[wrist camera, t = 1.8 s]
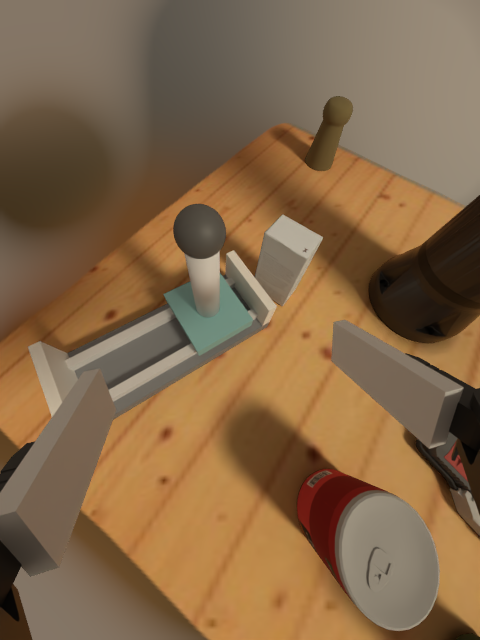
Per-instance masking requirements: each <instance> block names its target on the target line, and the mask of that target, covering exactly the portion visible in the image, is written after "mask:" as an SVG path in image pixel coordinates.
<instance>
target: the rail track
mask: <svg viewBox="0 0 480 640" xmlns="http://www.w3.org/2000/svg"><path fill="white" fill-rule="evenodd" d="M223 278H224V279H225V281H226V282H227V283H228V285H229V286H230V288H231V289H232V290H233V292H234V293H235V295H236V296H237V297H238V299H239V300H240V302H241V303H242V304H243V306H244V307H245V309H246V310H247V311H248V313H249V314H250V316H251V317H252V318H253V322H252V325H251V326H250V327H248V328H246V329H244V330H243V331H241V332H239V333H238V334H236V335H234V336H233V337H231V338H229V339H227V340H226V341H224V342H222V343H221V344H219V345H217V346H216V347H214V348H212V349H210V350H209V351H207V352H205V353H204V354H202V355H200V356H199V355H198V353H197V352H196V350H195V348H194V347H193V345H192V343H191V342H190V340H189V338H188V337H187V335H186V333H185V332H184V330H183V328H182V326H181V325H180V323H179V321H178V320H177V318H176V316H175V315H174V313H173V311H172V310H171V308H170V306H169V305H168V304H166V305H164V306H162V307H160V308H158V309H156V310H154V311H151V312H149V313H147V314H145V315H143V316H141V317H139V318H137V319H135V320H133V321H131V322H129V323H127V324H125V325H123V326H121V327H119V328H117V329H115V330H113V331H111V332H109V333H107V334H105V335H103V336H101V337H99V338H97V339H95V340H93V341H91V342H89V343H87V344H85V345H83V346H81V347H79V348H77V349H75V350H73V351H71V352H69V353H66V352H63V351H61V350H59V349H57V348H54V347H52V346H50V345H48V344H45V343H43V342H41V341H39V342H37V343H35V344H33V345H31V346H28V349H29V351H30V354H31V357H32V360H33V363H34V366H35V369H36V372H37V375H38V377H39V380H40V383H41V386H42V389H43V392H44V395H45V398H46V401H47V404H48V406H49V409H50V412H51V415H52V417H53V415H54V414H55V412H56V411H57V409H58V408H59V406H60V405H61V404H62V402H63V401H64V399H65V398H66V396H67V395H68V393H69V392H70V390H71V389H72V388H73V386H74V385H75V383H76V382H77V380H78V379H79V377H80V376H81V375H82V373H83V372H84V371H89V370H94V369H99V368H100V370H101V372H102V375H103V378H104V380H105V383H106V385H107V388H108V390H109V393H110V395H111V398H112V400H113V403H114V405H115V408H116V413H115V415H114V418H113V419H115V418H117V417H118V416H120V415H122V414H123V413H125V412H127V411H128V410H130V409H132V408H133V407H135V406H137V405H138V404H140V403H142V402H143V401H145V400H147V399H148V398H150V397H152V396H153V395H155V394H157V393H158V392H160V391H161V390H163V389H165V388H166V387H168V386H170V385H171V384H173V383H175V382H176V381H178V380H180V379H181V378H183V377H185V376H186V375H188V374H190V373H191V372H193V371H195V370H196V369H198V368H200V367H201V366H203V365H205V364H206V363H208V362H210V361H211V360H213V359H215V358H216V357H218V356H220V355H221V354H223V353H224V352H226V351H228V350H229V349H231V348H233V347H234V346H236V345H238V344H239V343H241V342H243V341H244V340H246V339H248V338H249V337H251V336H253V335H254V334H256V333H258V332H259V331H261V330H263V329H264V328H266V327H267V325H268V323H269V321H270V319H271V317H272V315H273V313H274V311H275V309H276V307H277V306H276V305H275V303H274V302H273V301H272V299H271V298H270V297H269V296H268V294H267V293H266V292H265V290H264V289H263V288H262V286H261V285H260V284H259V282H258V281H257V280H256V279H255V277H254V276H253V275H252V273H251V272H250V271H249V269H248V268H247V267H246V266H245V264H244V263H243V262H242V260H241V259H240V258H239V256H238V255H237V254H236V252H235V251H234V250H233V251H231V252H229V253H227V254H226V274H225V275H224V276H223Z"/></svg>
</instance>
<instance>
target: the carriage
mask: <svg viewBox="0 0 480 640" xmlns="http://www.w3.org/2000/svg"><path fill="white" fill-rule="evenodd" d="M173 232H174V238H175V241H176V243H177V245H178V247H179V248H180V249H181V250H182V251H183V252H184V253H185V258H186V262H187V267H188V272H189V277H190V282H188V283H186V284H184V285H182V286H180V287H177V288H175V289H173V290H171V291H169V292H167V293H165V294H164V297H165V299H166V301H167V303H168V305H169V306H170V308H171V310H172V311H173V313H174V315H175V316H176V318H177V320H178V321H179V323H180V325H181V326H182V328H183V330H184V332H185V333H186V335H187V337H188V338H189V340H190V342H191V343H192V345H193V347H194V348H195V350H196V352H197V353H198V355H199V356H200V355H202V354H204V353H205V352H207V351H209V350H210V349H212V348H214V347H216V346H217V345H219V344H221V343H222V342H224V341H226V340H227V339H229V338H231V337H233V336H234V335H236V334H238V333H239V332H241V331H243V330H244V329H246V328H248V327H250V326H251V325H252V322H253V318H252V317H251V316H250V314H249V313H248V311H247V310H246V309H245V307H244V306H243V304H242V303H241V302H240V300H239V299H238V297H237V296H236V295H235V293H234V292H233V290H232V289H231V288H230V286H229V285H228V283H227V282H226V281H225V279H224V278H223V276H222V275H221V274H220V250H221V248H222V246H223V245H224V242H225V238H226V228H225V224H224V222H223V219H222V218H221V216H220V215H219V213H218V212H217V211H215V210H214V209H213V208H211V207H209V206H207V205H204V204H193V205H189V206H187V207H185V208H184V209H183V210H182V211H181V212H180V213H179V214H178V215H177V217H176V219H175V222H174V228H173Z"/></svg>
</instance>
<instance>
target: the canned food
mask: <svg viewBox="0 0 480 640" xmlns="http://www.w3.org/2000/svg"><path fill="white" fill-rule="evenodd" d="M297 511H298V519H299V523H300V526H301V529H302V531H303V533H304V535H305V537H306V538H307V540H308V541H309V543H310V544H311V546H312V547H313V548H314V550H315V551H316V552H317V554H318V555H319V557H320V558H321V559H322V561H323V562H324V564H325V565H326V566H327V568H328V569H329V570H330V572H331V573H332V575H333V576H334V577H335V579H336V580H337V582H338V583H339V584H340V586H341V587H342V588H343V590H344V591H345V593H346V594H347V595H348V596H349V598H350V599H351V600H352V602H353V603H354V604H355V605H356V606H357V607H358V608H359V610H360V611H361V612H362V613H363V614H364V615H365V616H366V617H367V618H369V619H370V620H371V621H373V622H374V623H375V624H377V625H379V626H381V627H383V628H385V629H388V630H394V631H402V630H409V629H411V628H413V627H415V626H417V625H419V624H420V623H421V622H422V621H423V620H424V619H425V618H426V617H427V615H428V614H429V612H430V611H431V609H432V608H433V605H434V602H435V600H436V597H437V593H438V587H439V573H440V570H439V561H438V555H437V551H436V547H435V543H434V541H433V538H432V536H431V533H430V531H429V529H428V528H427V526H426V524H425V522H424V521H423V519H422V518H421V517H420V515H419V514H418V513H417V512H416V511H415V510H414V509H413V508H412V507H411V506H410V505H409V504H408V503H406V502H405V501H403V500H402V499H400V498H399V497H397V496H396V495H394V494H391V493H389V492H387V491H385V490H383V489H380V488H378V487H375V486H373V485H371V484H368V483H366V482H363V481H361V480H358V479H356V478H354V477H351V476H349V475H346V474H344V473H342V472H339V471H337V470H333V469H322V470H319V471H316V472H314V473H313V474H311V475H310V476H309V477H308V478H307V479H306V480H305V481H304V483H303V484H302V486H301V489H300V491H299V495H298V501H297Z"/></svg>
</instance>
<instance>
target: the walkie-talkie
mask: <svg viewBox="0 0 480 640" xmlns="http://www.w3.org/2000/svg"><path fill="white" fill-rule="evenodd" d="M456 441H457V437H455V436H454V435H453V434H452V433H450V432H449V434H448V437H447V440H446V443H445V444H443V445H440V446H437V447H434V448H430V449H429V448H428V447H426V446H425V445H424V444H423V443H422V442H421V441H420V440H419V439H418V440H416V446H417V448H418V450H419V451H420V452H421V453H422V455H424V456H425V458H426V459H427V460H428V461H429V462H430V463H431V464H432V465H433V466H434V467H435V468H436V469H437V470H438V471H439V472H440V473H441V474H442V475H443V477H444V478H445V479H446V480H447V482H448V484H449V486H450V487H451V488H450V491H451V494H452V497H453V500H454V503H455V506H456V509H457V512H458V513H459V514H460V515H461V517H462V518H463V519H464V520H465V521H466V522H467V523H468V524H469V525H470V526H471V527H472V528H473V529H474V531H475V532H476V533H477V534H478V535H479V536H480V515H479V512H478V509H477V506H476V503H475V500H474V497H473V494H472V491H471V488H470V486H469V483H468V480H467V477H466V474H465V471H464V468H463V465H462V463H461V459H460V456H459V455H458V456H457V458H456V460H455V461H452V460H451V455H452V453H453V450H454V447H455V444H456Z"/></svg>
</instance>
